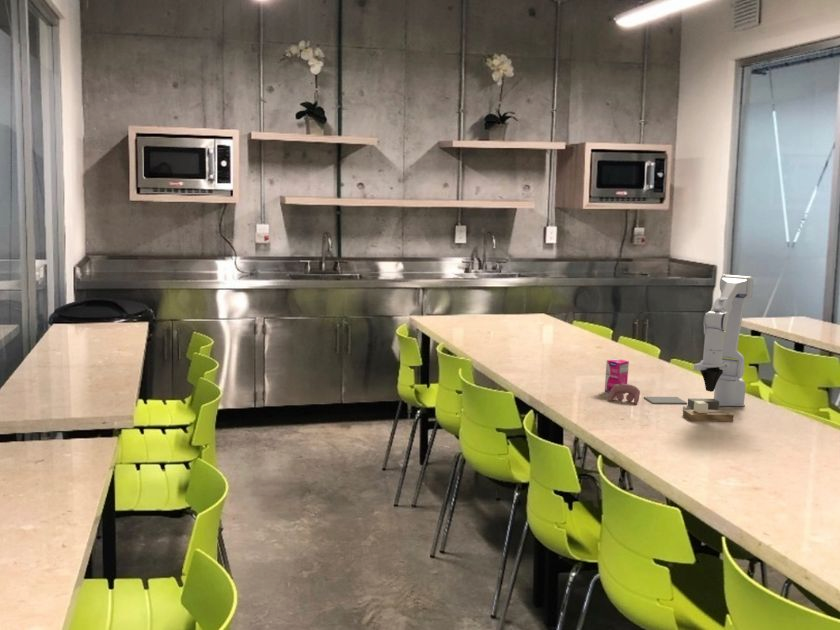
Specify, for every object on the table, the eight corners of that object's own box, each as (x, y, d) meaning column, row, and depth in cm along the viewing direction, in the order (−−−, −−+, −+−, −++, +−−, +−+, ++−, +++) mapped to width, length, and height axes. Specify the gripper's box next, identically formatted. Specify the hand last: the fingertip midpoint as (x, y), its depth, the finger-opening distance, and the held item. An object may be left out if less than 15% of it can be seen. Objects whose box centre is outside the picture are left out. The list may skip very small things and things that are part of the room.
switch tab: (702, 410, 270) (703, 401, 269) (707, 413, 266) (708, 403, 266) (693, 410, 269) (694, 400, 269) (698, 413, 266) (699, 403, 265)
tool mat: (676, 398, 294) (677, 396, 294) (686, 404, 286) (686, 402, 286) (643, 398, 293) (644, 396, 293) (652, 403, 285) (652, 402, 285)
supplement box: (603, 391, 301) (606, 359, 299) (613, 389, 305) (615, 358, 303) (617, 394, 297) (619, 362, 295) (627, 392, 300) (629, 360, 299)
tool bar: (713, 408, 281) (713, 398, 281) (718, 412, 277) (719, 401, 277) (681, 408, 280) (682, 398, 279) (686, 411, 276) (687, 401, 275)
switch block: (724, 415, 272) (724, 409, 272) (733, 420, 266) (733, 414, 266) (682, 415, 271) (683, 409, 270) (690, 420, 265) (691, 414, 264)
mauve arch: (639, 407, 286) (641, 387, 288) (637, 403, 282) (640, 383, 284) (609, 403, 290) (613, 383, 292) (607, 400, 286) (610, 380, 288)
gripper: (718, 345, 275) (715, 385, 277) (687, 348, 268) (684, 390, 270) (736, 349, 269) (732, 390, 271) (705, 352, 262) (701, 395, 264)
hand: (709, 390), depth 270 cm, fingers closed
